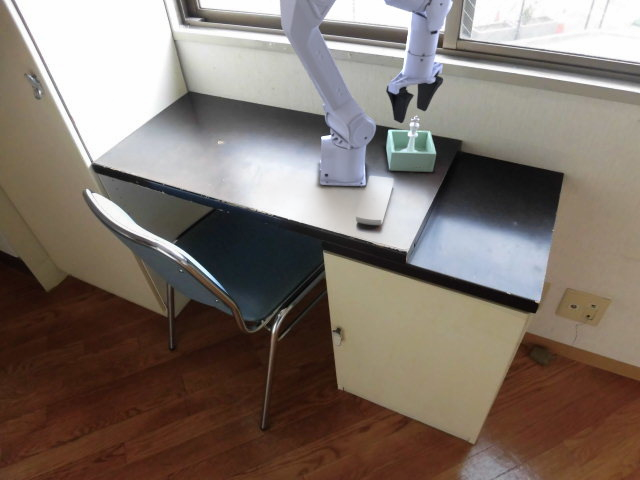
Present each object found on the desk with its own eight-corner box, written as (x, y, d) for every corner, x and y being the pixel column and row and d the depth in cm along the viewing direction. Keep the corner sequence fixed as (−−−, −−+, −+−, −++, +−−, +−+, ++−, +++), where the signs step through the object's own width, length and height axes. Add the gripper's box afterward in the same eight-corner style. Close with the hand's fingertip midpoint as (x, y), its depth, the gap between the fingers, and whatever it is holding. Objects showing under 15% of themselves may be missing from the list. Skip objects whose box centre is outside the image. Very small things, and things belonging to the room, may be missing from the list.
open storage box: (389, 170, 103) (391, 152, 100) (386, 147, 110) (388, 129, 107) (432, 171, 103) (436, 153, 100) (426, 148, 110) (430, 130, 106)
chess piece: (397, 150, 108) (403, 110, 101) (418, 151, 108) (426, 110, 101) (399, 162, 104) (405, 121, 97) (421, 163, 104) (429, 122, 97)
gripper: (412, 67, 85) (402, 134, 94) (460, 47, 92) (446, 111, 102) (383, 55, 89) (376, 120, 98) (431, 36, 96) (420, 99, 105)
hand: (410, 115), depth 100 cm, fingers open, 7 cm apart
